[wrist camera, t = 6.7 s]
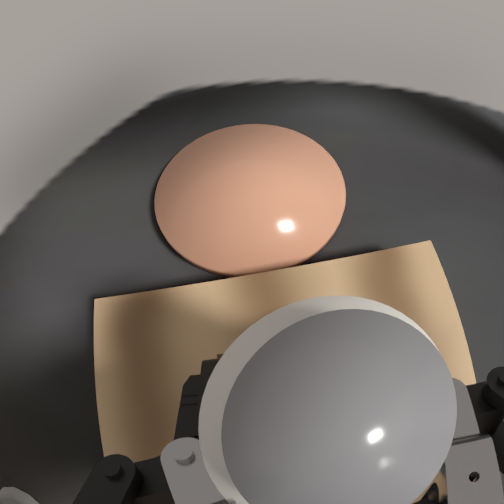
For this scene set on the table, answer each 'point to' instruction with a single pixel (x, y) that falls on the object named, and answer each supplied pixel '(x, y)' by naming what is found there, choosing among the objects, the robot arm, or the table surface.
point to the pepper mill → (328, 407)
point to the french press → (15, 496)
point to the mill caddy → (235, 323)
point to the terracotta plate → (250, 200)
